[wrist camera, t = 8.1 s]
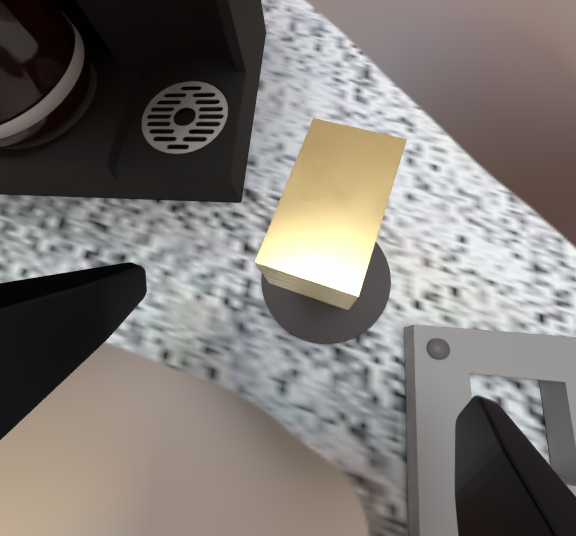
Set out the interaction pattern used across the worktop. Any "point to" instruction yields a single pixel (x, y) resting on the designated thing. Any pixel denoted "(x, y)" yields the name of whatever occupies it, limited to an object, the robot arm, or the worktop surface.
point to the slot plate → (455, 396)
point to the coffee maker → (128, 97)
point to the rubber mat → (327, 319)
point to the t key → (331, 213)
